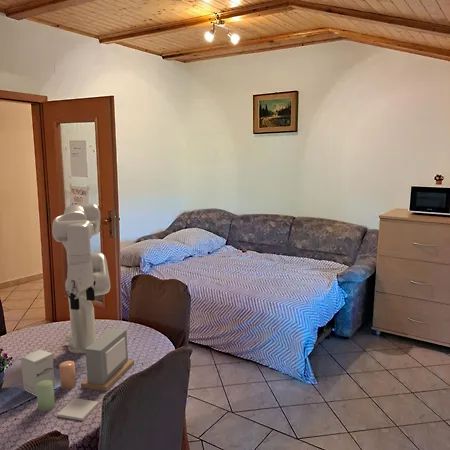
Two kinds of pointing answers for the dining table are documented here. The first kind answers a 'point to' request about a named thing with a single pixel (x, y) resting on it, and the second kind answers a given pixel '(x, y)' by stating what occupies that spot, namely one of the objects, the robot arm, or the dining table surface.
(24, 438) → the dining table surface
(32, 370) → the supplement box
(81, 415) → the grey pad
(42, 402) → the sage part
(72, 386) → the terracotta part
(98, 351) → the box
